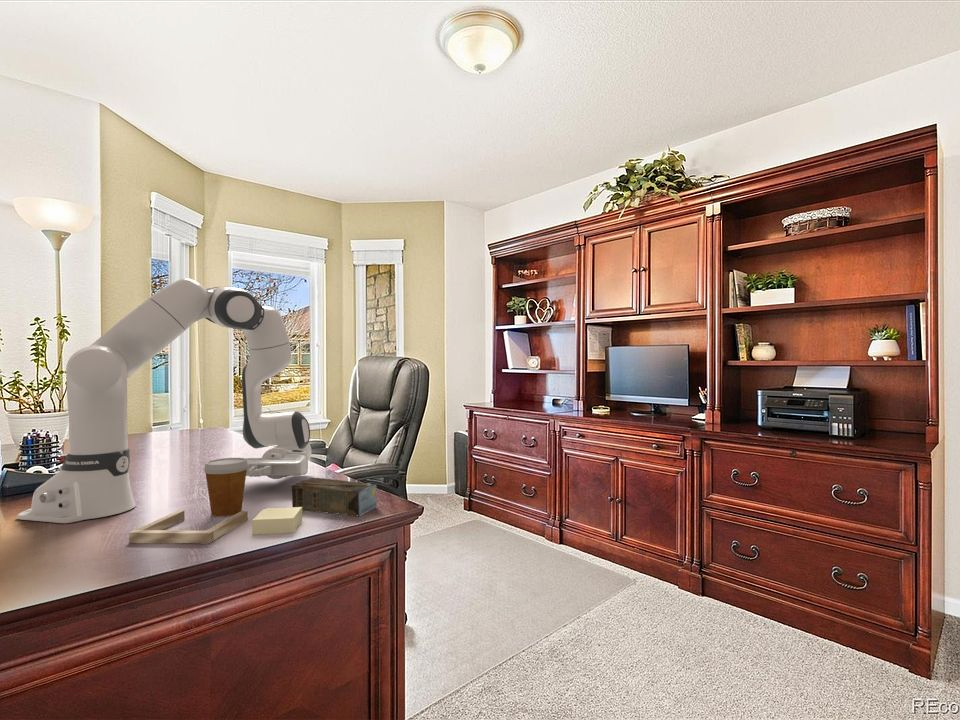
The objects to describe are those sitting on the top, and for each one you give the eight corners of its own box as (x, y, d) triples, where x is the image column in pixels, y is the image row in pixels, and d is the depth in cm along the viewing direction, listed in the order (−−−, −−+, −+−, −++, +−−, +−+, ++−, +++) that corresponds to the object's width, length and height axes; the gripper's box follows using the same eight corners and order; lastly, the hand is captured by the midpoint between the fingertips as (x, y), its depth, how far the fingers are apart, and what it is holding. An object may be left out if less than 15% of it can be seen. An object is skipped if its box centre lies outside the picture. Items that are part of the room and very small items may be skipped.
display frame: (129, 542, 97) (129, 532, 97) (178, 519, 111) (177, 510, 111) (209, 543, 96) (209, 533, 96) (247, 520, 111) (247, 511, 111)
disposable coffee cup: (213, 507, 121) (213, 457, 121) (254, 506, 122) (254, 456, 122) (195, 519, 111) (195, 465, 111) (240, 518, 112) (240, 464, 112)
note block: (252, 534, 101) (252, 519, 101) (264, 522, 109) (264, 508, 109) (293, 532, 102) (293, 518, 102) (302, 520, 110) (302, 506, 110)
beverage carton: (359, 518, 112) (358, 489, 112) (289, 510, 119) (289, 482, 119) (377, 508, 120) (377, 480, 120) (311, 501, 126) (311, 475, 126)
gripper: (242, 451, 143) (214, 461, 129) (312, 451, 142) (291, 461, 128) (243, 473, 143) (214, 485, 129) (313, 473, 142) (292, 485, 128)
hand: (253, 473), depth 129 cm, fingers closed
